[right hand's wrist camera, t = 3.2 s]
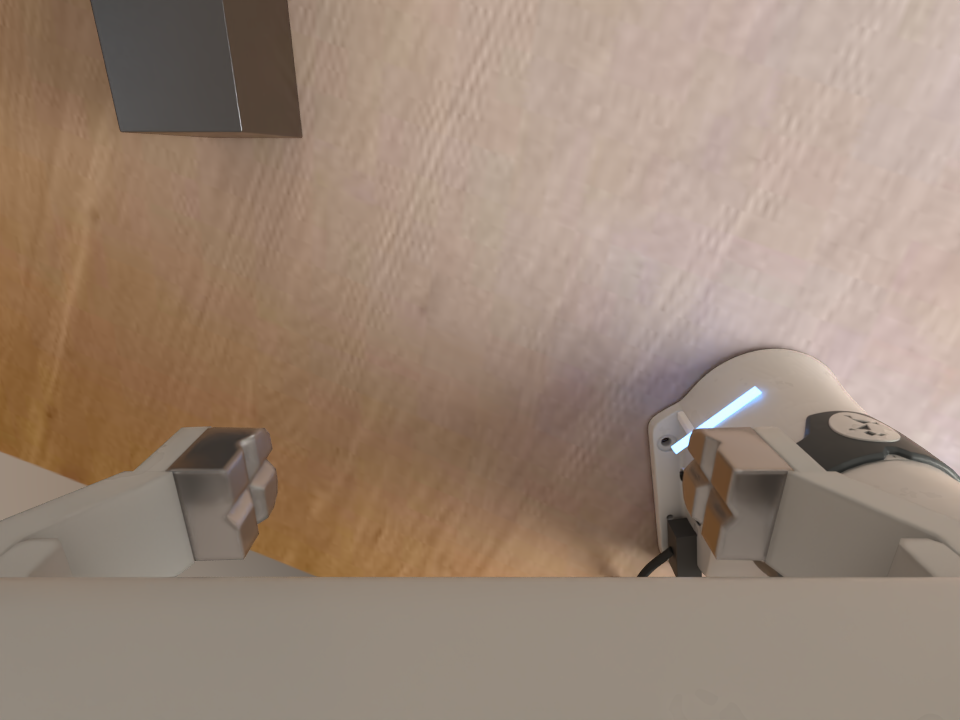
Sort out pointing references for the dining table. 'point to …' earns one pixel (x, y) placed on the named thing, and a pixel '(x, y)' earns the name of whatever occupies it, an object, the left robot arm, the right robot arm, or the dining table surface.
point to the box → (200, 67)
